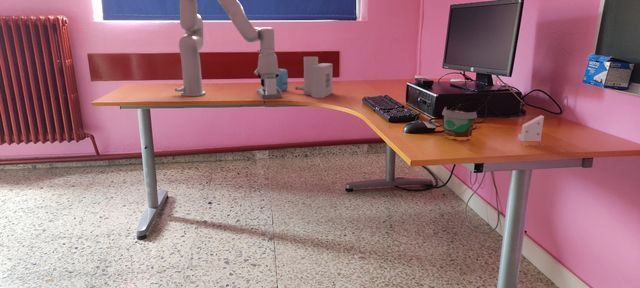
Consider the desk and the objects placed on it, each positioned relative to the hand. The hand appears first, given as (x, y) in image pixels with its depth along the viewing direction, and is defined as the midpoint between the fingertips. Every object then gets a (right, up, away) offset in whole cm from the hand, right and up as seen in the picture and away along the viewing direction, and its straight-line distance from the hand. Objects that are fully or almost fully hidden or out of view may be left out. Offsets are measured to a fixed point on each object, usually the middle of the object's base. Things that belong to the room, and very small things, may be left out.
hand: (268, 86), depth 233 cm
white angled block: (+97, -31, -88) cm, 135 cm away
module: (0, -1, 0) cm, 2 cm away
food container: (+75, -29, -81) cm, 114 cm away
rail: (0, -5, +1) cm, 5 cm away
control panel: (+23, -4, +4) cm, 24 cm away
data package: (+3, 0, +18) cm, 19 cm away
